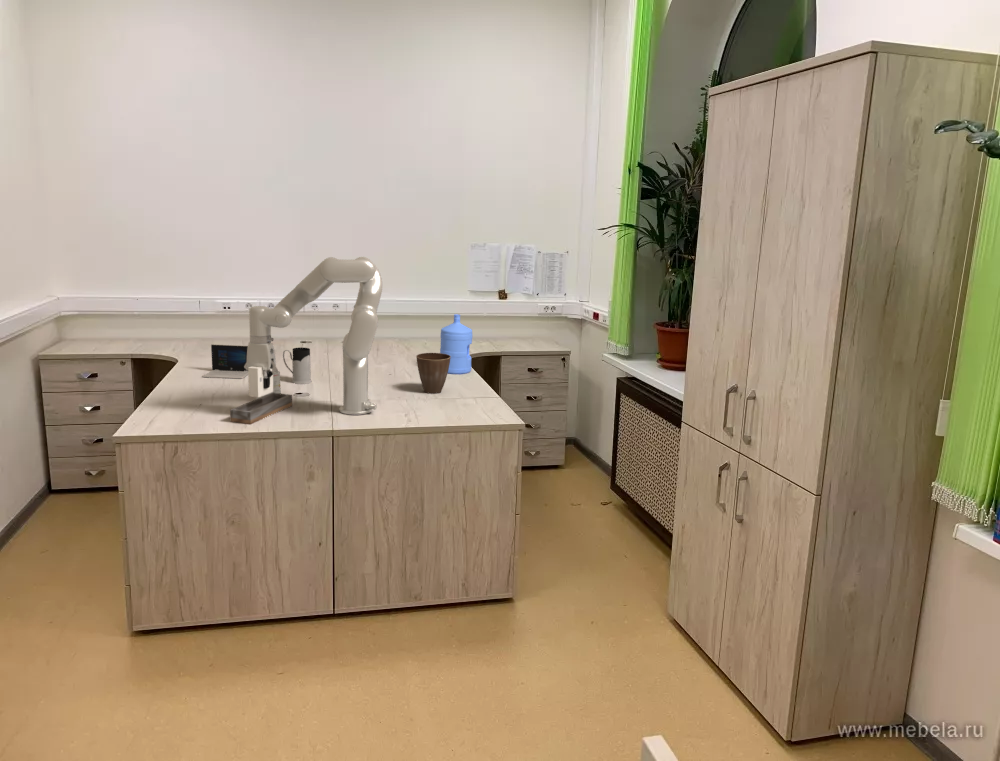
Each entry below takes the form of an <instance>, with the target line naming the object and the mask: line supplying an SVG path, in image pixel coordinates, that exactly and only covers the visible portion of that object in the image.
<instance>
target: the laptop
mask: <svg viewBox="0 0 1000 761" xmlns="http://www.w3.org/2000/svg"><path fill="white" fill-rule="evenodd" d="M247 349H248V345H236V344H235V345H234V344H233V345H232V344H231V345H229V344H211V345H210V350H211V370H210V371H209V372H207V373H205V374H204V375H202V376H201V377H202V378H208V379H209V378H210V379H211V378H214V379H216V378H217V379H236V380H241V379H243V378H246V377H248V370H246V369H245V368H244V366H245V364H246V362H247Z"/></svg>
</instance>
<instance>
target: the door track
mask: <svg viewBox="0 0 1000 761" xmlns="http://www.w3.org/2000/svg"><path fill="white" fill-rule="evenodd" d="M290 406H291V407H292V406H293V395H292V394H288V393H282V392H281V393H271V394H269V395H266V396H263V397H261V398H258V399H256V398H255V399H254V400H251V401H249V402H246V403H244V404H241V405H238V406H236V407H233V408H231V409H230V410H229V413H230V422H233V423H238V424H244V425H245V424H246V425H252V424H254V423H256V422H259V421H262V420H263V418H264V419H266V418H268V417H270V416H272V415H271V414H273V415H275V414H277V413H279V412H282V411H283V409H284V410H286V409H288V408H290ZM285 408H286V409H285ZM281 410H282V411H281ZM278 411H279V412H278ZM276 412H277V413H276ZM274 413H275V414H274ZM269 415H270V416H269ZM267 416H268V417H267ZM265 417H266V418H265Z"/></svg>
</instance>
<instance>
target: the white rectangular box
mask: <svg viewBox="0 0 1000 761" xmlns="http://www.w3.org/2000/svg"><path fill="white" fill-rule="evenodd" d="M270 370H271V371H272V369H270ZM247 377H248V378H247V380H248V397H253V398H256V397H261V396H263V395H266V394H269V393H271V392H273V375H272V376H271V377H270V387H269V388H266V389H264V384H263V379H264V378H265V377H264V371H263V370H262V367H256V366H251V367H248V375H247Z"/></svg>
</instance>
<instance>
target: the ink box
mask: <svg viewBox="0 0 1000 761" xmlns="http://www.w3.org/2000/svg"><path fill="white" fill-rule="evenodd" d="M281 388H282V387H281V372H280V371H279V370H278V371H277V372H276V373H274V374H273V392H271V393H281V394H282V391H281ZM271 393H269V394H271ZM269 394H266V395H269ZM266 395H263V396H266ZM263 396H261V397H263ZM261 397H255V400H256V399H258V398H261Z"/></svg>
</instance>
